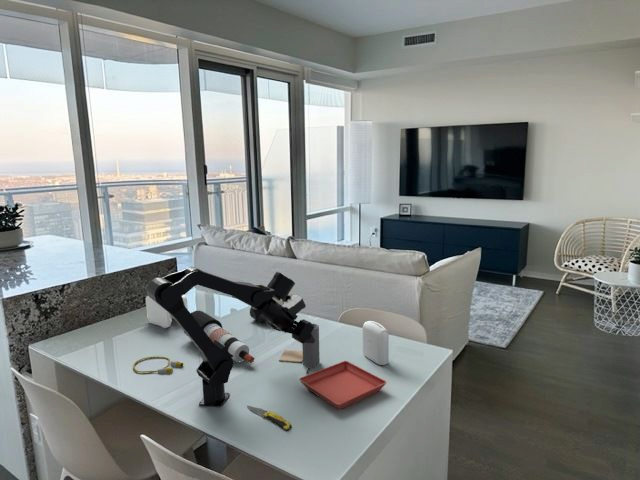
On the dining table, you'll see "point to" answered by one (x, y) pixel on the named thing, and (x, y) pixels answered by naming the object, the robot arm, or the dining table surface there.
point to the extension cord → (163, 370)
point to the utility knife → (272, 417)
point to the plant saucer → (342, 384)
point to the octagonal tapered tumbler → (312, 350)
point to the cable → (222, 336)
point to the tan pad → (292, 356)
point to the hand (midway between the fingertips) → (305, 337)
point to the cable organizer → (160, 313)
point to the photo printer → (376, 342)
